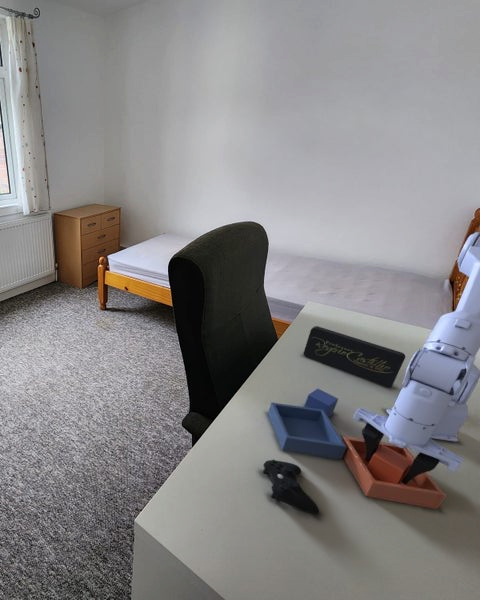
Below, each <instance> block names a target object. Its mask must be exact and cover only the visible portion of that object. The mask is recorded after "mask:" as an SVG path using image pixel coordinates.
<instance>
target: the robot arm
mask: <svg viewBox="0 0 480 600" xmlns="http://www.w3.org/2000/svg"><path fill="white" fill-rule="evenodd" d="M456 262H457V268H458V272H459V273H462V274H464V275H465V276H467V277H468V280H467V282H466V284H465V287H464V289H463V292H462V293H461V296H460V299H459V301H458V304H457V306H456V308H455V310H453V311H451V312H448V313H445V314H442V315H441V316H440V317H439V319H438V320H437V322H436V324H435V325H434V328H433V329H432V331H431V333H430V334H429V336H428V338H427V339H426V341H425V343H424V345H423V346H422V348H421V349H420V348H418V349H417V350H416V351H415V352H414V353H413V355H412V357H411V359H410V361H409V363H408V365H407V367H406V370H405V375H404V378H403V381H402V384H401V390H400V392H399V394H398V396H397V398H396V400H395V403H394V404H393V407H392V408H391V409H390V408H387V409H386V412H387V414H388V417H387V416H384V415H381V414H377V413H376V412H375V413H374V412H372V411H369V410H367V409H365V408H362V407H359V408H358V409H357V410H355V413H354V415H353V416H352V419H353V420H354V421H356V422H363V423H364V424H365V425H364V427H363V428H362V430H361V435H362V438H363V440H364V441H365V447H366V457H365V461H367V462H370V460H371V458H372V456H373V454H374V453H375V452H376V451H377V448H378V446H379V443H380V442H381V441H382V439H383V437H384V436H386V437H387V438H389V439H388V441H389V443H390V444H394V445H396V446H398V447H400V448H405V447H406V448H407V449H410V450H413V451H415V452H418V454H417V455H416V456H415V459H414V461H413V463H412V465H411V467H410V469H409V471H408V473H407V474H406V475H405V477H404V478H403V479H402V481H401V482H402V483H404V484H407V483H408V482H409V481H410V480H411V479H412V478H414V477H416V476H417V475H419V474H422V473H425V472H427V473H428V472H431V471H433V470H434V469H435V468H436V467H437V466H438V464H443V465H445V466H446V469H448V470H449V471H451V472H453V473H457V472H458V470H459V468H460V467H461V465H462V463H463V462H464V460H465V459H464V458H463V457H461V456H459V455H457V454H455V453H454V452H452V451H451V450H449V449H447V448H445V447H444V446H443V445H441V444H439V443H438V442H437V441H435V440H441V441H447V442H448V441H449V442H453V443H454V442H455V443H457V442H459V439H458V438H457V435H458V433H459V432H460V430H461V428H462V427H463V425H464V424H465V421H466V420H467V418H468V416H469V407H468V404H467V402H468V401H469V399H470V397H471V396H472V394H473V392H474V390H475V389H476V388H477V385H478V383H479V380H480V368H478V367H477V365H476V364H475V360H476V357H477V354H478V352H479V350H480V232H479V231H476V232H474V233H472V234H470V235H469V236H468V237H467V239H466V241H465V243H464V245H463V247H462V249H461V250H460V252H459V255H458V257H457V261H456ZM434 439H435V440H434Z"/></svg>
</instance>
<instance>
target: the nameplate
mask: <svg viewBox="0 0 480 600" xmlns="http://www.w3.org/2000/svg"><path fill="white" fill-rule="evenodd" d="M302 355H303V356H304V357H305V358H308V359H309V360H313V361H316V362H318V363H322V364H323V365H326V366H329V367H331V368H334V369H336V370H339V371H343V372H345V373H347V374H350V375H352V376H355V377H358V378H361V379H363V380H366V381H369V382H370V383H374V384H376V385H379V386H382V387H385V388H391V387H393V385H394V383H395V381H396V379H397V376H398V374H399V372H400V370H401V368H402V366H403V363H404V362H405V360H406V354H405V353H404V352H402V351H399V350H396V349H391V348H389V347H386V346H382V345H379V344H376V343H373V342H369V341H366V340H363V339H360V338H356V337H353V336H350V335H348V334H344V333H340V332H338V331H334V330H331V329H328V328H325V327H321V326H319V325H315V326H313V327H312V328H311V329H310V331H309V335H308V338H307V340H306V344H305V347H304V350H303V353H302Z"/></svg>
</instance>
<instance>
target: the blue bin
mask: <svg viewBox="0 0 480 600" xmlns="http://www.w3.org/2000/svg"><path fill="white" fill-rule="evenodd" d="M267 416H268V418H269V420H270V423H271V425H272V427H273V430H274V432H275V435H276V437H277V440H278V444H279V445H280V447H281V448H280V449H281V450H282V451H285V452H291V453H292V452H293V453H299V454H304V455H310V456H316V457H322V458H329V459H336V460H342V459H343V454H344V452H345V450H346V445H345V444H344V442H343V440H342V439H343V438H342V437H341V436H340V434H339V432H338V430H337V429H336V428H335V426H334V424H333V423H332V421H331V419H330V418H329V417H328V416H327V415H326V413H325V412H324V410H322V409H315V408H307V407H304V406H300V405H293V404H286V403H279V402H278V403H277V402H271V403H270V406H269V410H268V412H267Z"/></svg>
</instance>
